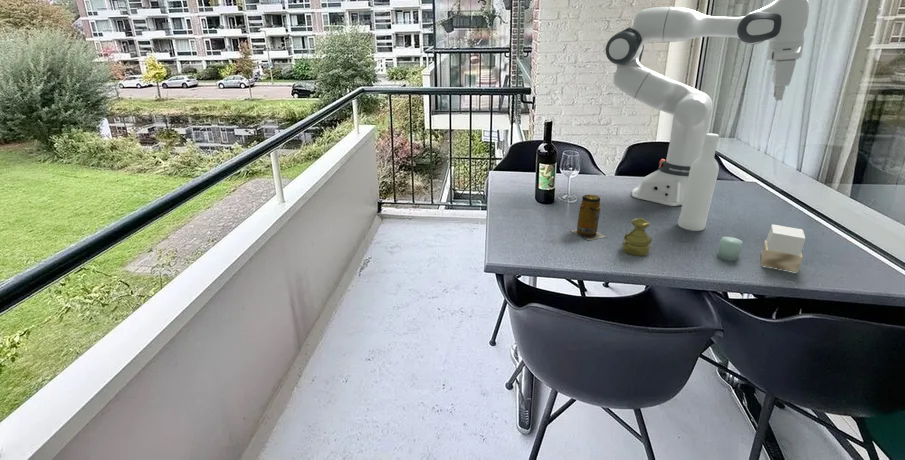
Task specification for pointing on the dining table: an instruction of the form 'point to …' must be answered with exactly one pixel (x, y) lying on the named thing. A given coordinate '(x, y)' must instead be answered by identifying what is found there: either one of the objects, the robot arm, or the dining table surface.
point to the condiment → (589, 218)
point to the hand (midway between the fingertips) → (777, 98)
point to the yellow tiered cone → (637, 238)
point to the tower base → (780, 259)
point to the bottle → (700, 187)
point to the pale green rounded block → (729, 248)
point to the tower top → (785, 240)
